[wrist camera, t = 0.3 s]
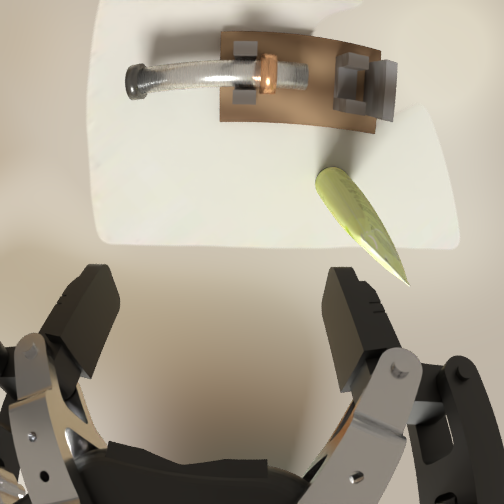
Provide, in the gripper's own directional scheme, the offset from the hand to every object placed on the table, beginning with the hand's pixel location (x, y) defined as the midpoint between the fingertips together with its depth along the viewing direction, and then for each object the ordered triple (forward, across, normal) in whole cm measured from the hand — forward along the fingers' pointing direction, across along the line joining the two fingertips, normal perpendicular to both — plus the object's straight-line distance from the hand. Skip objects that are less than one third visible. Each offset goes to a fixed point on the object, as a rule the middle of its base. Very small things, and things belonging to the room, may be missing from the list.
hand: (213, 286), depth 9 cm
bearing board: (+28, -8, -8) cm, 30 cm away
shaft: (+26, +2, -9) cm, 27 cm away
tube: (+28, -12, +5) cm, 31 cm away
